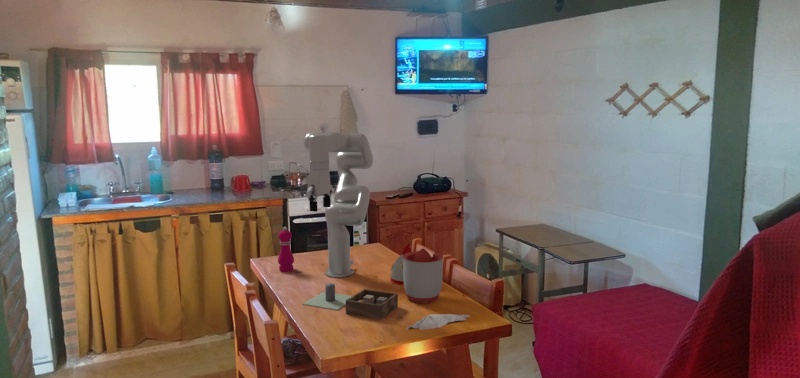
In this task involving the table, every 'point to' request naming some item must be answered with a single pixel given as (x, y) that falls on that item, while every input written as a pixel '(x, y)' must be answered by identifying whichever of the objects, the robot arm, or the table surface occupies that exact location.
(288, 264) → the pepper mill
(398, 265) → the kitchen timer
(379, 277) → the table surface
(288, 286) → the table surface
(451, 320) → the cloth
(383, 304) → the box
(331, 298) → the lid
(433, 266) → the citrus juicer
